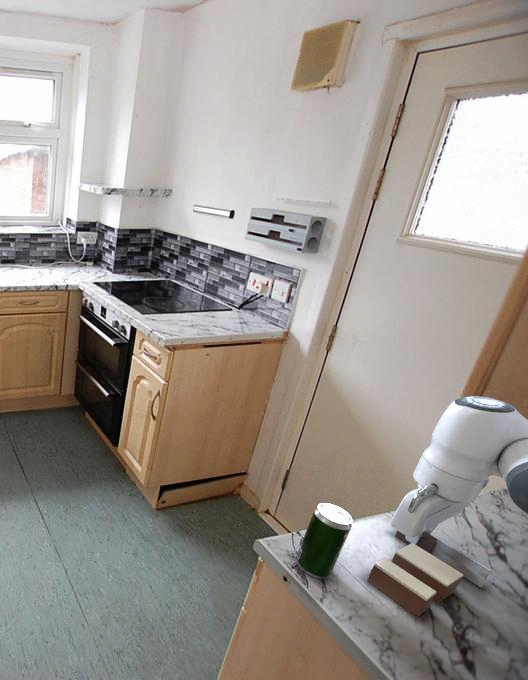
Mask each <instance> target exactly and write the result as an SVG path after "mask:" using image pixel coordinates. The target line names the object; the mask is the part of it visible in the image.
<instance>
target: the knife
mask: <svg viewBox="0 0 528 680" xmlns="http://www.w3.org/2000/svg"><path fill="white" fill-rule="evenodd" d="M394 537H395V538H397V539H398V540H400V541H402V542H403V543H405V544H406V545H407V546H408V545H409V544H411V542H409V541H407V540H406V538H405V537H406V535H404V534H402V533H401V532H399V531H398V530H396V533H395V534H394ZM415 545H417V546H418V547H420V548H422V549H423V550H425V551H426V552H428V553H430V554H431V555H433V556H434V557H436V558H438V559H439V560H441V561H442V562H444V563H446V564H447V565H449V566H451V567H452V568H454V569H455V570H457V571H459V572H460V573H462V574H463V578H465V579H466V580H468V581H470V582H472V583H473V584H474V585H477V586H478V587H480V588H482V587H483V586H484V584H485V582H486V581H487V579H488V578H489V576H490V574H491V572H492V569H490V568H488V567H487V566H485V565H483V564H482V563H480V562H478V561H477V560H475V559H474V558H471V557H470V556H469V555H466V554H464V553H463V552H462V551H460V550H458V549H456V548H454V547H453V546H451V545H450V544H448V543H446V542H444V541H443V540H441V539H439V538H437V537H436V536H433V535H432V534H431V535H430V534H428V533H427V532H425V531H424V532H423V533H422V538H421V540H420V542H418V543H417V544H415Z"/></svg>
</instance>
